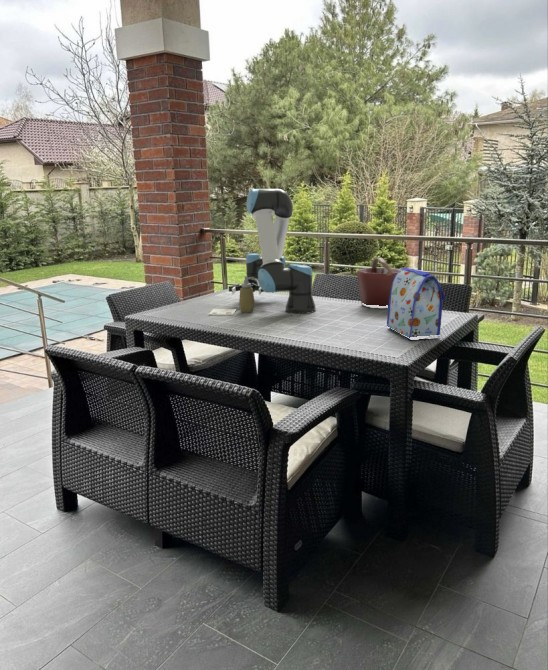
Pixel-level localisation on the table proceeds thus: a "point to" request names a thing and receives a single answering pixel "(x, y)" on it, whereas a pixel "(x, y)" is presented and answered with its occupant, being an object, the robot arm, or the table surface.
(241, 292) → the squeeze bottle
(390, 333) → the table surface
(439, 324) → the lunch bag
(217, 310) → the card
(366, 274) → the bucket
